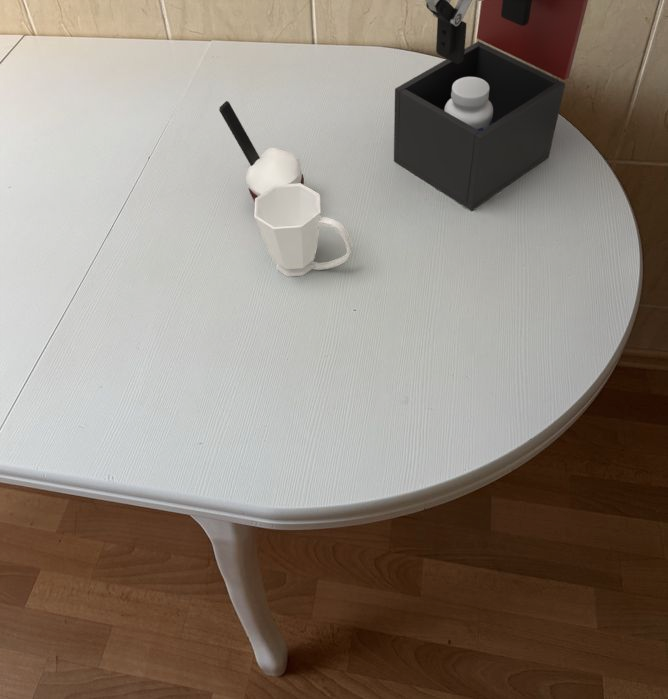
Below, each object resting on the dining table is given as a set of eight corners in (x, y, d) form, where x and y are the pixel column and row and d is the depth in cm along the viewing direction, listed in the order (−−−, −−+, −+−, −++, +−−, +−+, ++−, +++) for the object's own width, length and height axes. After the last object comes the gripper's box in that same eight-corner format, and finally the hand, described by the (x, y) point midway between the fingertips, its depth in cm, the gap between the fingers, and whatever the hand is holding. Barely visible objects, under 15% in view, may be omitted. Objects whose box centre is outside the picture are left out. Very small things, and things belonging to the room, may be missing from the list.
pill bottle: (461, 140, 86) (468, 66, 78) (496, 159, 83) (507, 84, 75) (430, 161, 84) (435, 87, 76) (465, 181, 81) (474, 107, 73)
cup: (277, 234, 79) (268, 176, 72) (362, 252, 76) (361, 194, 70) (252, 278, 75) (240, 221, 68) (340, 299, 72) (336, 242, 66)
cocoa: (323, 212, 80) (315, 121, 71) (278, 238, 78) (264, 148, 69) (275, 172, 85) (261, 83, 76) (232, 195, 83) (212, 106, 73)
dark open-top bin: (471, 211, 79) (481, 137, 71) (393, 161, 85) (394, 88, 77) (548, 157, 84) (565, 83, 76) (470, 113, 90) (478, 40, 82)
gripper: (465, -118, 53) (451, 87, 67) (605, -180, 59) (566, 19, 73) (396, -140, 57) (395, 59, 70) (534, -196, 63) (510, -4, 77)
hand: (482, 39), depth 72 cm, fingers open, 9 cm apart
